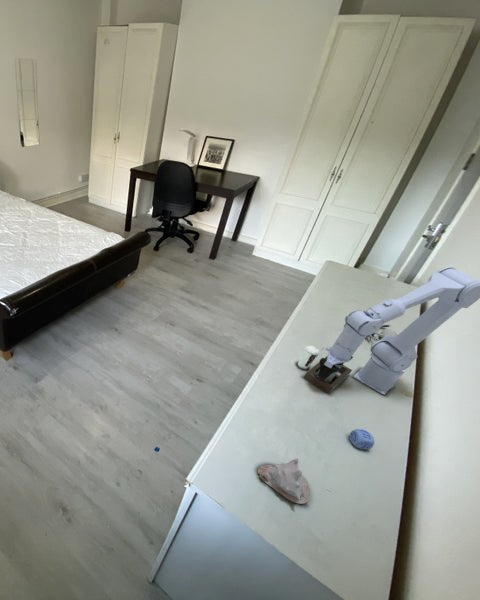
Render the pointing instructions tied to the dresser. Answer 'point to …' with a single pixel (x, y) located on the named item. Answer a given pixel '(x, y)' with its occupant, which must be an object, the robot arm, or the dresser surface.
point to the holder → (322, 383)
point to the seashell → (286, 480)
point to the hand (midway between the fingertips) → (326, 373)
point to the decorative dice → (361, 439)
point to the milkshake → (308, 356)
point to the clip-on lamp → (384, 333)
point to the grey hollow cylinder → (331, 374)
